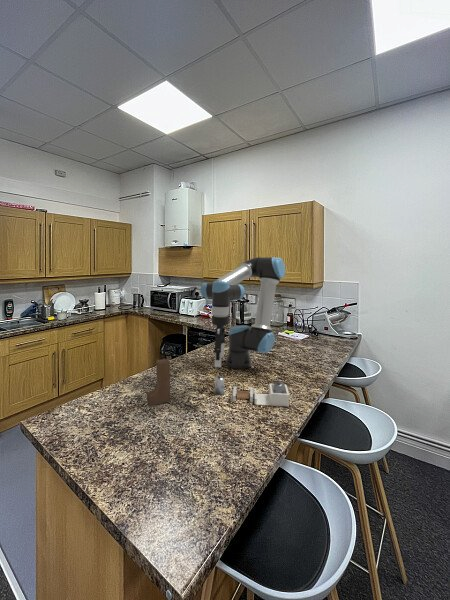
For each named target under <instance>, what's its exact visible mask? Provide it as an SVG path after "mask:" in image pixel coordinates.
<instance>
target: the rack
mask: <svg viewBox="0 0 450 600" xmlns="http://www.w3.org/2000/svg"><path fill="white" fill-rule="evenodd" d="M268 387H269V389H268V390H269V392H268V393H257V388H254V389H253V400H254V405H259V406H275V407H290V392H289V389H288V386H287V384H285V383H284V394H282V393H274V383H269V386H268Z"/></svg>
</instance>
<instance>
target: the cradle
mask: <svg viewBox="0 0 450 600" xmlns="http://www.w3.org/2000/svg"><path fill="white" fill-rule="evenodd" d="M249 388H250V389H249V403H254V388H253V387H249ZM237 389H238V387H237V386H233V391H232V402H236V400H237V391H238V390H237Z"/></svg>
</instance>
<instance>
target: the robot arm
mask: <svg viewBox="0 0 450 600" xmlns="http://www.w3.org/2000/svg"><path fill="white" fill-rule="evenodd" d="M285 265H286V264H285V262H284V260H283V259H282V258H280V257H274V256H272V257H270V256H269V257H267V256H265V257H260V256H259V257H253V258H250V259H248V260H246V261H244V262H242V263H240V264H239V265H238V266H237V268H234V269H233V270H232V271H229V272H228V273H226V274H224V275H222V276H221V277H219V278H217V279H215V280H213V281H212V282H203V283H202V284H201V285H200V288H199V290H200V291H199V292H200V295H201V296H202V297H203V298H205V299H212V305H211V306H212V307H211V308H210V310H211V314H212V316H211V324H212V325H214V326H216V328H215V331H214V332H215V335H214V336H215V337H214V339H215V340H214V350H212V352H213V353H214V368H222V358H225V344H226V343H227V341H226V338H225V334H226V333H225V331H226V327H225V326H228V325H229V323H230V322H229V320H230V319H229V318H230V317H229V315H230V302H232V301H239V300H242V299H243V298H244V297H245V294H246V291H245V287H244V286H243V285H242V284H240V283H241V282H242V281H244V280H248V279H250V278H258V280H259V281H260V288H259V289H260V290H259V295H258V299H257V300H258V301H257V307H256V314H255V318H254V319H255V321H254V324H253V325H251V328H250V326H249V325H245V324H244V325H243V324H242V325H233V326H231V327H230V328H229V332H228V354H227V355H226V359H225V365H226V366H227V367H228V368H230V369H234V370H235V369H237V370H242V369H248V368H250V367H251V366H252V359H251V358H252V357H251V355H250V351H253V352H257V353H259V354H260V353H261V354H268V353H269V352H270V351H271V350H272V349H273V347H274V345H275V341H276V339H275V334H274V333H273V328H272V327H271V320H272V315H273V307H274V302H275V296H276V289H277V285H278V284H279V283H280V282H281V281H280V280H281V279H283V278H284V277H285V275H286V267H285Z"/></svg>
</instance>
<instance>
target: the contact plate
mask: <svg viewBox="0 0 450 600" xmlns="http://www.w3.org/2000/svg"><path fill="white" fill-rule="evenodd" d="M236 399H243V400H250V390H237V392H236Z"/></svg>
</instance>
